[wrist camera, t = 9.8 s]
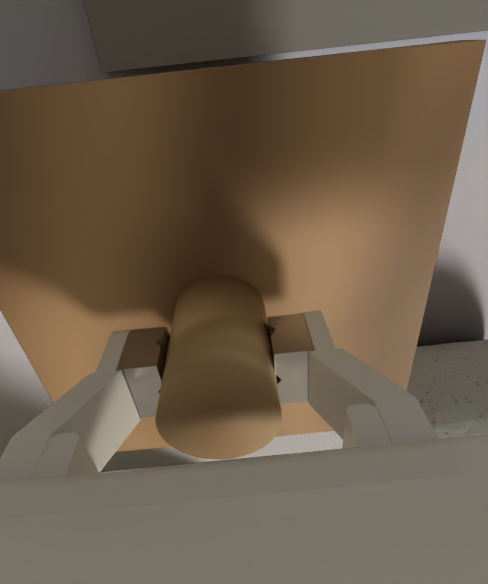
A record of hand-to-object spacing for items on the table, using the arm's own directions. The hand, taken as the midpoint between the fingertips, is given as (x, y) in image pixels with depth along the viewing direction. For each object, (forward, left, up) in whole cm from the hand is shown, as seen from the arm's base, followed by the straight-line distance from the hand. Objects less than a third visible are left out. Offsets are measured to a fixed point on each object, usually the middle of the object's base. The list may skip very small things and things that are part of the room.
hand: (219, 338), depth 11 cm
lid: (0, 0, -2) cm, 2 cm away
